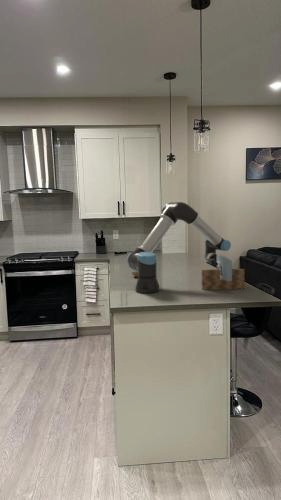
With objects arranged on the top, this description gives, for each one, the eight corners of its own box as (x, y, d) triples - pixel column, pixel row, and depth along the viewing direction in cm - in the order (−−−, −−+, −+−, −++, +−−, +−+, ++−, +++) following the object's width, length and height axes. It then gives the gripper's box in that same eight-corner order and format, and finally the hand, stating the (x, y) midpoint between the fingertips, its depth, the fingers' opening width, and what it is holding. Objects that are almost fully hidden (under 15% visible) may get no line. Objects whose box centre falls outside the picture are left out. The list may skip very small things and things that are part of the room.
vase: (128, 277, 233) (128, 252, 231) (135, 274, 243) (135, 250, 240) (141, 278, 228) (140, 252, 226) (147, 275, 238) (147, 251, 235)
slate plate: (231, 280, 183) (232, 260, 181) (226, 280, 183) (226, 260, 181) (221, 272, 206) (221, 254, 205) (216, 272, 206) (216, 254, 205)
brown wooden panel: (202, 289, 194) (202, 270, 192) (201, 288, 197) (201, 269, 195) (244, 288, 194) (244, 269, 192) (242, 287, 197) (243, 268, 195)
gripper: (225, 264, 220) (235, 270, 197) (202, 264, 220) (209, 271, 196) (225, 253, 219) (235, 258, 196) (202, 254, 219) (209, 259, 196)
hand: (222, 264), depth 196 cm, fingers closed on slate plate, 3 cm apart
